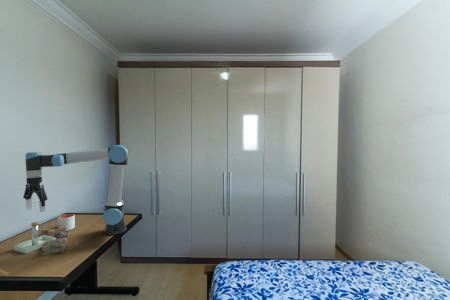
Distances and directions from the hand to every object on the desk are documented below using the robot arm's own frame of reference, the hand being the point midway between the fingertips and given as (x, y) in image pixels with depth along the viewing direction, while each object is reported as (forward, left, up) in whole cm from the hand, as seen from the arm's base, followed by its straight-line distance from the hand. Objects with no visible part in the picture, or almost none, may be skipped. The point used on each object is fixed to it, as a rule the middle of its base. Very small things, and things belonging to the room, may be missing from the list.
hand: (35, 210), depth 149 cm
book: (-15, -2, -23) cm, 28 cm away
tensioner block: (+8, -16, -23) cm, 29 cm away
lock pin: (+1, 0, -22) cm, 22 cm away
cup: (+11, -27, -23) cm, 37 cm away
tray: (0, 0, -23) cm, 23 cm away
